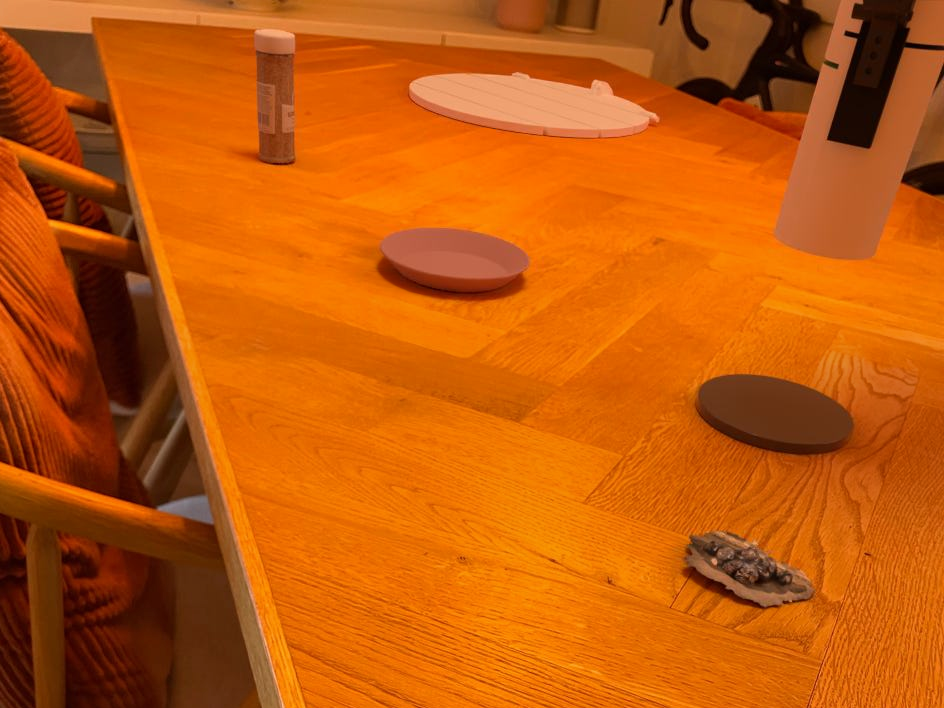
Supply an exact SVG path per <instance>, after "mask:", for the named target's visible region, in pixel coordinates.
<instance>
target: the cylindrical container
mask: <svg viewBox="0 0 944 708" xmlns="http://www.w3.org/2000/svg"><path fill="white" fill-rule="evenodd" d="M855 3H859V4H863V0H840V3H839V6H838V9H837V12H836V16H835V19H834V23H833V27H832V30H831V34H830V37H829V41H828V44H827V47H826V51H825V54H824V59H825V60H823V61H822V65H821V68H820V71H819V75H818V79H817V82H816V86H815V89H814V93H813V96H812V99H811V103H810V106H809V110H808V113H807V116H806V120H805V123H804V126H803V130H802V134H801V137H800V139H799V144H798V147H797V151H796V154H795V158H794V161H793V164H792V167H791V172H790V175H789V178H788V182H787V185H786V188H785V192H784V195H783V198H782V203H781V205H780V206H781V207H780V208H779V213H778V216H777V219H776V223H775V225H774V229H773V237H774V238H775V239H776V240H777V241H778V242H779V243H781V244H783V245H785V246H787V247H789V248H791V249H794V250H797V251H799V252H801V253H806V254H810V255H813V256H817V257H822V258H827V259H833V260H834V259H835V260H842V261H843V260H844V261H864V260H868V259H872V258H873V257H874V256H875V255H876V253H877V250H878V247H879V245H880V242H881V239H882V237H883V233H884V230H885V228H886V225H887V222H888V220H889V215H890V214H891V210H892V208H893V205H894V202H895V199H896V197H897V195H898V192H899V188H900V185H901V182H902V180H903V176H904V174H905V171H906V168H907V166H908V163H909V160H910V157H911V154H912V151H913V149H914V146H915V143H916V141H917V138H918V135H919V132H920V129H921V127H922V123H923V121H924V118H925V115H926V113H927V110H928V107H929V106H930V105H929V104H930V102H931V100H932V96H933V93H934V91H935V88H936V85H937V82H938V80H939V77H940V73H941V71H942V68H943V66H944V0H916V3H915V6H914V8H913V11H914V13H913V17H912V19H911V21H909V22H908V24H907V26H906V27H907V28H910V31H909V34H908V37H907V40H906V44H905V47H904V50H903V53H902V56H901V59H900V62H899V65H898V68H897V71H896V74H895V77H894V80H893V83H892V86H891V89H890V92H889V95H888V98H887V101H886V104H885V107H884V110H883V113H882V116H881V119H880V122H879V125H878V128H877V131H876V134H875V137H874V140H873V143H872V146H871V148H870V149H867V148H862V147H857V146H852V145H847V144H843V143H838V142H833V141H828V140H827V137H828V133H829V130H830V127H831V124H832V120H833V117H834V114H835V111H836V107H837V104H838V101H839V97H840V94H841V91H842V88H843V84H844V81H845V78H846V74H847V71H848V68H849V65H850V61H851V58H852V55H853V51H854V48H855V45H856V42H857V38H858V35H859V32H860V29H861V25H862V22H863V20H857V19H852V18H851V15H852V10H853V7H854V4H855Z"/></svg>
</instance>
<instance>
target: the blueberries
mask: <svg viewBox="0 0 944 708" xmlns="http://www.w3.org/2000/svg"><path fill="white" fill-rule="evenodd" d="M688 539H690V542H689V543H686V547H687V548H686V549H687V550H690V553H691V555H687V556H685V558H682V561H684V562H687V563H685V565H686V566H687V567H688V568H689V567H694V568H695V569H696V571H697V572H699V573H700V574H701V575H702V576H704V577H706V578H707V579H710V580H713V581H715V582H719V583H722V584H723V585H724V586H725V587H724V588H725V589H726V590H732V591H733V593H734V595H736V596H737V597H739V598H742V600H745V599H746V600H751V601H752V602H754V603H758V604H759V606H761V607H763V608H767V607H769V608H770V607H771V606H782V605H784V602H788V603H793V601H800V600H808V599H810V598H812V597H814V596H815V591H817V589H815V588H813V587H812V586H813V581H812V580H810V579H809V578H808V577H807V574H805V573H804V572H803V570H801V569H799V570H798V569H796V567H795V566H794V567H791V566H789V565H788V564H787V563H786V562H785V561H781V562H779V561H776V559H775V558H773V557H772V556H768V555H769V554H772V553H774V551H773V550H771V551H770V550H766V551H764V550H765V549H761V548H760V547H758V546H759V541H758V540H757V539H754V540H751V542H750V541H749V540H747V538H743V537H741V536H739V535H738V534H736V533H732V532H730V531H729V530H726V531H723V530H714V531H710V532H705V533H704V534H702V533H699V535H698V534H691V535H690V534H689V535H688ZM783 601H784V602H783Z"/></svg>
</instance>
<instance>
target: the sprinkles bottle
mask: <svg viewBox="0 0 944 708" xmlns="http://www.w3.org/2000/svg"><path fill="white" fill-rule="evenodd" d="M253 35H254V39H253V40H254V41H253V42H254V43H253V44H254V50H255V57H256V110H257V113H256V114H257V129H258V153H257V157H258V159H259V160H261V161H262V162H265V163H269V164H273V163H279V164H278V165H285V164H284V163H287V164H291V163H294V162H295V161H296V159H297V157H296V150H295V143H296V142H295V131H296V118H295V117H296V115H295V114H296V113H295V76H294V75H295V74H294V72H295V69H294V65H295V64H294V63H295V62H294V61H295V59H294V58H295V53H296V35H295V34H294V33H292V32H289V31H286V30H280V29H271V28H270V29H267V28H265V29H264V28H263V29H262V28H261V29H257V30H255V31H254V34H253ZM290 162H291V163H290ZM280 163H281V164H280Z"/></svg>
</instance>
